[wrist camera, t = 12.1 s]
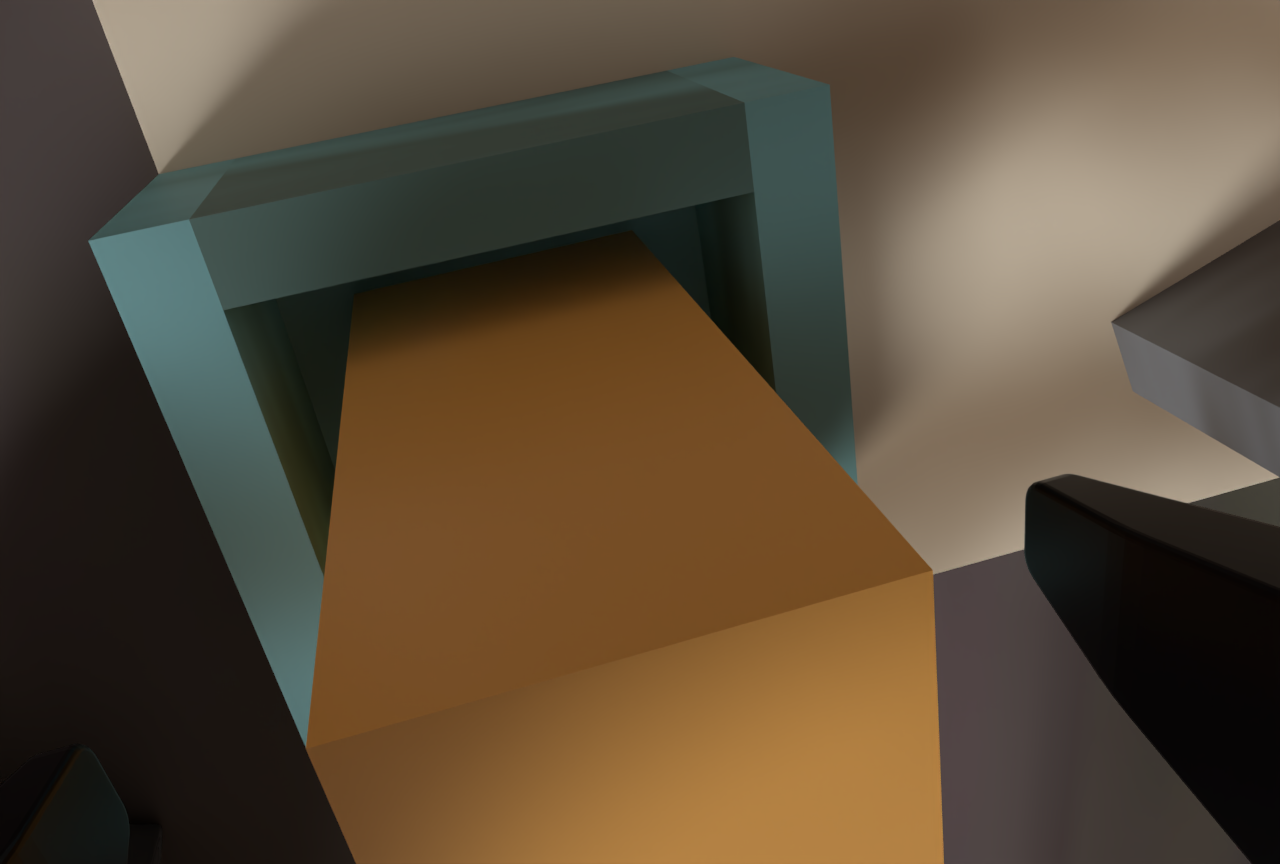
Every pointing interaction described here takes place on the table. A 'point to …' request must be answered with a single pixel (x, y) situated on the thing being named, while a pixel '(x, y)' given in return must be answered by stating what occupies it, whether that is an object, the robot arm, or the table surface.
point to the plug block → (607, 592)
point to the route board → (723, 232)
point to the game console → (144, 844)
